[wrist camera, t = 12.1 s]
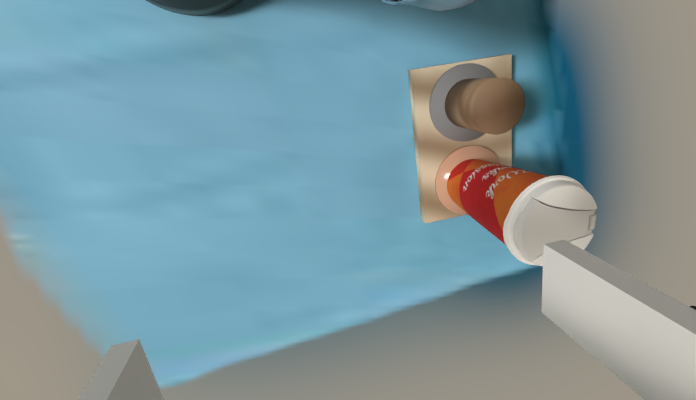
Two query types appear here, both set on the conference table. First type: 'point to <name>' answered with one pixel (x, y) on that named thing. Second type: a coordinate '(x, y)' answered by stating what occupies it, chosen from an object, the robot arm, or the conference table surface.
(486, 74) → the grey pad
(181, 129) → the conference table surface
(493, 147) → the board
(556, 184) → the paper cup
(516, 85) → the brown short cylinder
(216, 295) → the conference table surface
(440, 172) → the terracotta pad
